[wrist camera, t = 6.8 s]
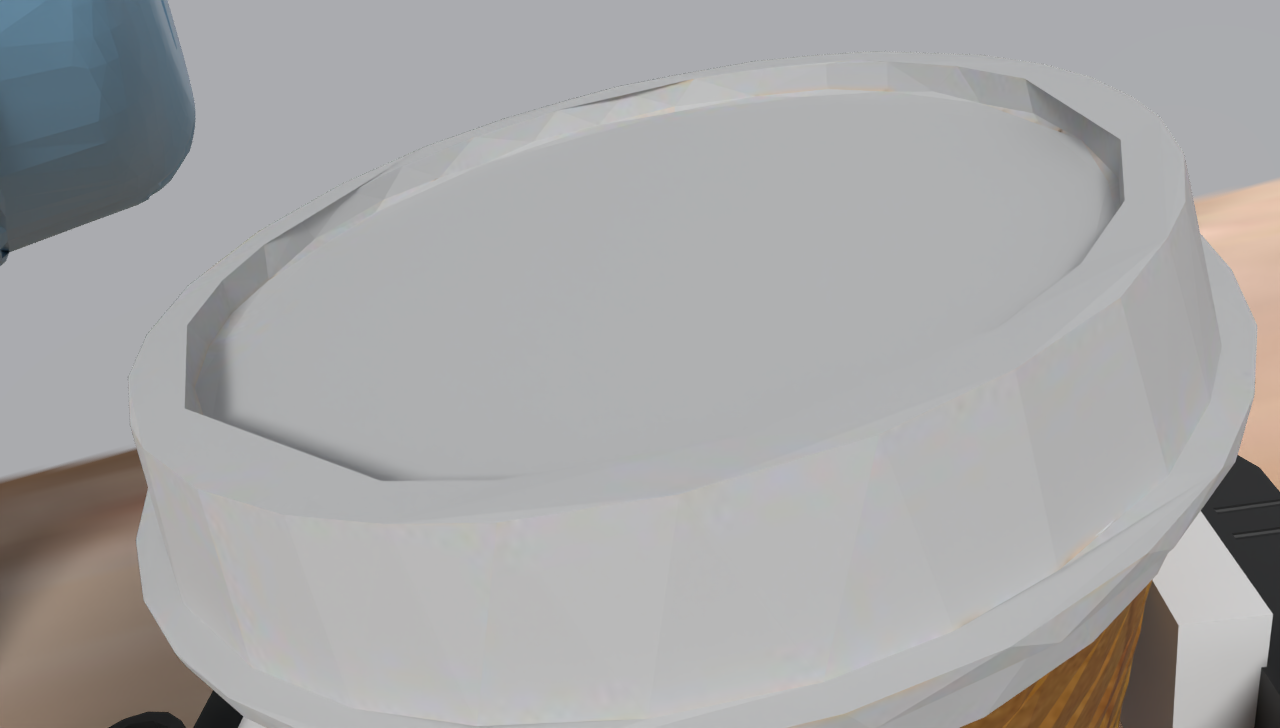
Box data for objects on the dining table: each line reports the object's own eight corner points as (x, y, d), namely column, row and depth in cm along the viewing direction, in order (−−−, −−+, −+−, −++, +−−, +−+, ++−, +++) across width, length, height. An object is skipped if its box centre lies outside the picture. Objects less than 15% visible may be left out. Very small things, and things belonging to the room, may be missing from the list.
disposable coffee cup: (436, 861, 17) (111, 235, 12) (895, 629, 19) (815, 8, 14) (637, 1684, 9) (-109, 975, 3) (1379, 1129, 11) (1675, 136, 6)
